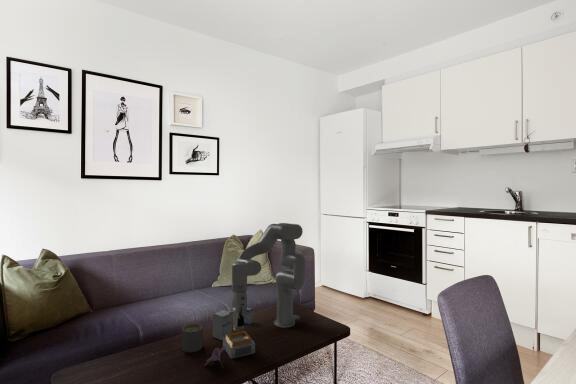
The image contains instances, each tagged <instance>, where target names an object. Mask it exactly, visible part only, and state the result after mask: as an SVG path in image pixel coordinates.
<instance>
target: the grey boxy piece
mask: <svg viewBox="0 0 576 384" xmlns="http://www.w3.org/2000/svg"><path fill="white" fill-rule="evenodd" d="M225 345H226V346H225ZM224 346H225V347H224ZM222 347H224V348H226V349H225V350H224V351H225V352H226V353H227V355H228V356H229V358H230V359H231V360H232V359H236V358H240V357H245V356H249V355H253V354H255V353H256V343H255V341H254V340H253V339H252V337H251V336H250V335H249V334H248V332H247V331H245V330H240V331H236V332H231V334H226V336H223V340H222Z"/></svg>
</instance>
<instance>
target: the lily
mask: <svg viewBox="0 0 576 384" xmlns="http://www.w3.org/2000/svg"><path fill="white" fill-rule="evenodd" d="M225 346H226V345H225ZM225 346H224V347H225ZM224 347H223V346H222V347H221V348H219V347H216V348H215V349H213V351H212V354H211V356H210V357H209V358H208V359H206V361H205V362H206V363H205V364H204V366H203V367H206V366H207V365H208V364H209V363H210V362H212V361H214V362H215V361H219V363H220V364H221V366H222V368H224V366H223V363H222V362H221V361H222V360H221V354H222V352H223V351H226V350H225V349H226V348H224Z"/></svg>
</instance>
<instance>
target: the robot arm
mask: <svg viewBox="0 0 576 384" xmlns="http://www.w3.org/2000/svg"><path fill="white" fill-rule="evenodd" d="M302 236H303V228H302V226H301V225H300V224H298V223H289V222H280V223H271V224H269V225H268V226H267V227H266V229H265V230H264V232H263V233H262V235H261V236H260V237H259V239H258V241H256V242H254V243H253V244H251V245H250V246H248V247H247V248H245V249H244V250H243V251H242V252H241V253H240V255H239V256H238V258H237V259H236V261H235V262H234V263H232V265H231V292H232V298H231V306H232V309H233V308H234V309H235V310H236V311H237V312H238V324H237V326H238V327H240V326H244V327H245V324H244V316H245V312H247V307H248V294H247V291H248V277H250V276H251V277H253V276H257V275H258V274H260V273H261V271H262V264H261V262H259V261H257V260H254V259H253V258H254V257H257V256H260V255H263V254H268V253H269V252H270V251H271V250H272V249H273V247H274V246H275V244H276V242H277V241H278V240H280V242H281V250H280V258H279V260H280V261H279V263H280V264H279V265H280V266H281V267H282V268H284V269H283V270H279V271H278V272H276V274H275V277H274V279H275V285H276V319H275V320H274V321H273V324H274V326H275V327H278V328H283V329H287V328H291V327H294V326H295V325H296V321H295V320H300V319H301V317H300V315H299V314H298V315H297V314H294V310H293V308H294V307H293V306H294V293H293V290H295V291H296V290H297V291H298V290H301V289H303V287H304V284H305V277H306V268H307V267H306V266H307V261H306V257H305V256H304V255H303V254H300V253H296V251H297V250H296V247H297V244H296V240H298V239H300V238H301V237H302ZM285 269H288V270H285ZM290 270H293V271H290ZM240 310H241V312H240ZM240 313H242V314H241V315H240Z"/></svg>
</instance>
